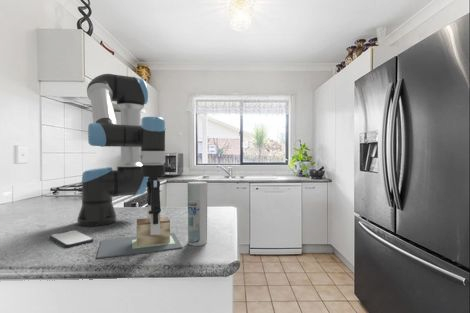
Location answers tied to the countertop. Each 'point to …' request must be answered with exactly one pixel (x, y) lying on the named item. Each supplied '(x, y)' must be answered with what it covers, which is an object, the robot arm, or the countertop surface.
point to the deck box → (145, 232)
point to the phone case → (71, 238)
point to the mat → (133, 247)
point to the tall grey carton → (197, 213)
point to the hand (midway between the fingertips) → (153, 228)
